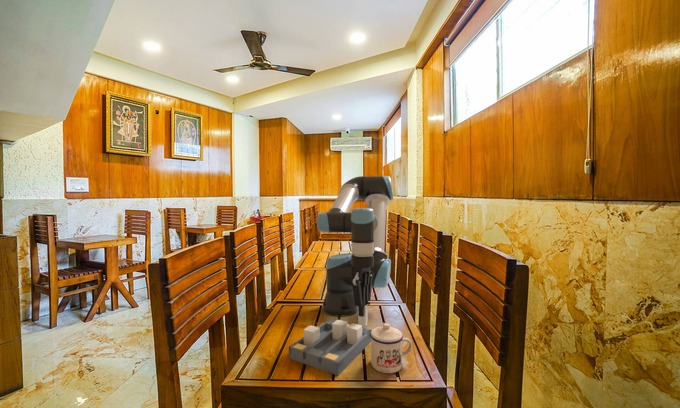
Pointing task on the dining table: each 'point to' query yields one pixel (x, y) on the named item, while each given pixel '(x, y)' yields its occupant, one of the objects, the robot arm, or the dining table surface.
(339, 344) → the switch bank
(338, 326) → the tab
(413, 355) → the dining table surface
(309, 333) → the tab
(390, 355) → the teacup with lid
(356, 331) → the tab
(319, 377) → the dining table surface
